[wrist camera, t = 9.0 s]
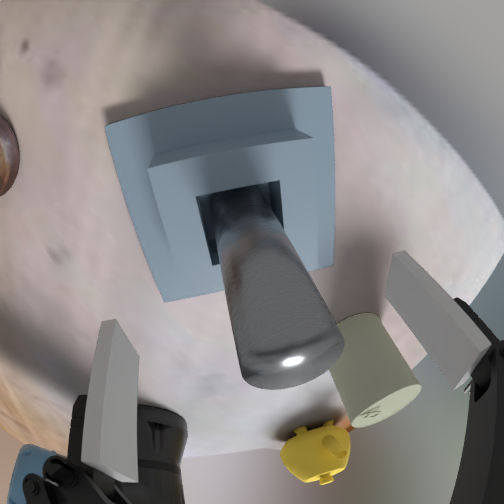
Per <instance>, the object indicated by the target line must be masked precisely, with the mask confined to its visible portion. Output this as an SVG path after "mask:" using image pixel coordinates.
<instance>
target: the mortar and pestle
mask: <svg viewBox="0 0 504 504" xmlns="http://www.w3.org/2000/svg"><path fill="white" fill-rule="evenodd" d="M19 161H20V158H19V148H18V143H17V140H16V137H15V135H14V133H13V131H12V129H11V128H10V126H9V125H8V123H7V122H6V121H5V120H4V119H3V118H2V116H1V115H0V196H2V195H3V194H5V193H6V192H7V191H8V190H9V189H10V188H11V186H12V185H13V183H14V181H15V179H16V176H17V173H18V169H19Z"/></svg>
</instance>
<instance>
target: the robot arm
mask: <svg viewBox="0 0 504 504" xmlns="http://www.w3.org/2000/svg"><path fill="white" fill-rule="evenodd" d="M385 297H386V298H387V300H388V301H389V302H390V303H391V305H392V306H393V307H394V308H395V310H396V311H397V312H398V314H399V315H400V316H401V318H402V319H403V320H404V322H405V323H406V324H407V326H408V327H409V328H410V330H411V331H412V332H413V334H414V335H415V336H416V338H417V339H418V340H419V342H420V343H421V345H422V346H423V347H424V349H425V350H426V352H427V353H428V354H429V356H430V357H431V359H432V360H433V361H434V363H435V364H436V366H437V367H438V369H439V370H440V371H441V373H442V375H443V376H444V378H445V379H446V381H447V382H448V383H449V385H450V387H451V388H452V390H454V389H456V388H457V387H459V386H460V385H462V384H463V383H465V381H466V380H467V379H468V377H469V376H470V375H471V377H472V378H473V379H472V380H471V382H470V383H469V384H468V386H467V387H466V388H465V390H464V393H466V392H467V391H468V390H469V388H470V391H469V394H470V401H469V411H468V420H467V428H466V435H465V442H464V447H463V452H462V458H461V462H460V467H459V471H458V475H457V479H456V483H455V487H454V491H453V495H452V498H451V501H450V504H504V340H501V341H499V339H498V338H497V337H496V336H495V335H494V334H493V333H492V331H491V330H490V329H489V328H488V327H487V326H486V324H485V323H484V322H483V321H482V320H481V319H480V318H478V315H477V314H476V313H475V312H473V310H472V309H471V308H470V306H469V305H468V304H467V303H466V302H464V301H462V300H461V299H459V298H455V299H452V297H451V296H450V295H449V294H448V293H447V292H446V291H445V290H444V289H443V288H442V287H441V286H440V285H439V284H438V283H437V282H436V281H435V280H434V279H433V278H432V277H431V276H430V275H429V274H428V273H427V272H426V271H425V270H424V269H423V268H422V267H421V266H420V265H419V264H418V263H417V262H416V261H415V260H414V259H413V258H412V257H411V256H410V255H409V254H408V253H407V252H406V251H405V250H404V251H401V252H397V253H394V254H393V256H392V262H391V267H390V272H389V278H388V283H387V287H386V292H385ZM138 371H139V355H138V354H137V352H136V350H135V349H134V347H133V346H132V344H131V343H130V341H129V339H128V338H127V336H126V335H125V333H124V331H123V330H122V328H121V326H120V325H119V323H118V321H117V320H116V319H113V320H108V321H102V323H101V327H100V331H99V336H98V340H97V345H96V350H95V355H94V360H93V365H92V371H91V376H90V382H89V389H88V395H79V396H78V398H77V400H76V401H75V403H74V405H73V411H72V419H71V428H70V434H69V444H68V456H67V457H66V456H63V455H60V454H57V453H56V452H55V451H49V450H46V449H44V448H41V447H38V446H36V445H33V444H26V445H24V446H22V448H21V449H20V451H19V454H18V457H17V460H16V463H15V467H14V471H13V474H12V478H11V483H10V487H9V493H8V497H7V504H185V500H184V493H183V485H182V478H181V469H180V463H181V460H182V456H183V452H184V449H185V445H186V441H187V438H188V431H187V423H186V421H185V420H184V419H183V418H181V417H180V416H178V415H176V414H174V413H172V412H169V411H166V410H163V409H159V408H154V407H148V406H140V405H137V392H138Z"/></svg>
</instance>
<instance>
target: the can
mask: <svg viewBox="0 0 504 504" xmlns="http://www.w3.org/2000/svg"><path fill="white" fill-rule="evenodd" d="M337 326H338V328H339V330H340V332H341V334H342V335H343V338H344V341H345V346H344V350H343V353H342V355H341V356H340V358H339V359H338V361H337V362H336V363H335V364H334V365H333V366H332V367H331V368H330V369H329V371H330V373H331V376H332V378H333V380H334V383H335V385H336V387H337V390H338V392H339V394H340V397H341V399H342V401H343V404H344V406H345V409H346V411H347V414H348V416H349V419H350V422H351V425H352V426H353V427H365V426H368V425H371V424H374V423H377V422H379V421H382V420H384V419H386V418H388V417H390V416H391V415H393V414H395V413H396V412H398V411H400V410H401V409H402V408H404V407H405V406H406V405H408V404H409V403H410V402H411V401H412V400H413V399H414V398H415V397H416V396H417V395H418V393H419V392H420V390H421V387H422V386H421V384H420V383H419V381H418V380H417V379H416V377H415V375H414V374H413V372H412V370H411V369H410V367H409V366H408V364H407V362H406V361H405V359H404V358H403V356H402V355H401V353H400V351H399V350H398V348H397V347H396V345H395V343H394V342H393V340H392V339H391V337H390V336H389V334H388V332H387V331H386V329H385V328H384V326H383V324H382V322H381V319H380V318H379V317H378V316H377V315H376V314H373V313H360V314H356V315H353V316H350V317H348V318H346V319H344V320H342V321H341V322H339V323H338V324H337Z"/></svg>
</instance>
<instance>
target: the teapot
mask: <svg viewBox="0 0 504 504" xmlns="http://www.w3.org/2000/svg"><path fill="white" fill-rule="evenodd" d="M333 423H334V420H330V421H327V422H325V423H323V424H322V427H320V428H316V429H313V430H310V431H308V430H307V428H306V427H305V426H303V427H299V428H296V429H295V430H294V432H295V433H296V434H297V436H295V437H293V438H291V439H288V440H287V442H286V443H285V444H284V446H283V448H282V450H281V452H280V456H281V459H282V461H283V463H284V465H285V466H286V468H287V469H288V470H289V471H290V472H291V473H292V474H293V475H295V476H296V477H297V478H299V479H300V480H302V481H303V482H311V481H316V480H320V485H323V484H327V483H329V482H332V481H333V480H334V478H333V477H332V475H334V474H336V473H339V472H341V471H342V470H344V469H345V467H346V465H347V462H348V458H349V454H350V437H349V434H348V432H347V431H346V430H345V429H343V428H341V427H338V426H333Z"/></svg>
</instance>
